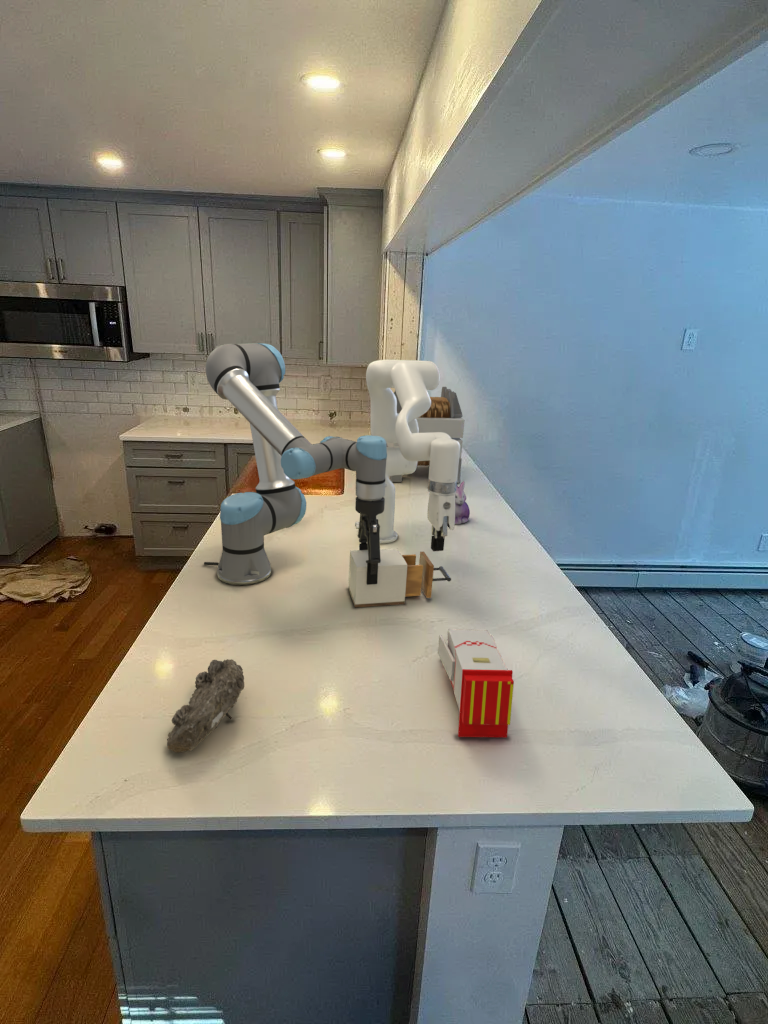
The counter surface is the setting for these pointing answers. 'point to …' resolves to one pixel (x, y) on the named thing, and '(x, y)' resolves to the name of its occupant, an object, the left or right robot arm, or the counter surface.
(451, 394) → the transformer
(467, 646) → the toy
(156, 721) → the counter surface
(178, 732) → the fossil
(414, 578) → the drawer
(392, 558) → the off-white box shell
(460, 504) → the figurine
